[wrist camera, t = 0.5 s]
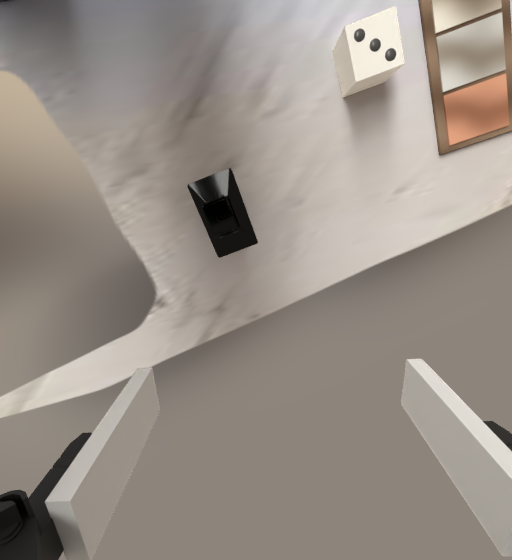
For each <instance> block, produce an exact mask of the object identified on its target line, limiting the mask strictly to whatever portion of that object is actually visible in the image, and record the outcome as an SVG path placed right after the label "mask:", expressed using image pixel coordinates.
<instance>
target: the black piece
mask: <svg viewBox="0 0 512 560" xmlns="http://www.w3.org/2000/svg"><path fill="white" fill-rule="evenodd" d="M188 189H189V191H190V193H191V195H192V198H193V200H194V202H195V205H196V207H197V209H198V212H199V214H200V216H201V219H202V221H203V223H204V225H205V228H206V230H207V232H208V235H209V237H210V239H211V242H212V244H213V246H214V249H215V251H216V253H217V255H218V257H219V258H220V257H223V256H225V255H228V254H231V253H233V252H236V251H239V250H241V249H244V248H247V247H249V246H252V245H254V244H257V243H258V241H257V239H256V236H255V233H254V230H253V228H252V225H251V222H250V219H249V217H248V214H247V211H246V208H245V206H244V203H243V200H242V197H241V195H240V192H239V189H238V186H237V184H236V181H235V178H234V175H233V173H232V170H231V168H228V169H226V170H223V171H221V172H218V173H216V174H213V175H211V176H208V177H206V178H203V179H201V180H198V181H196V182H193V183H191V184H188Z"/></svg>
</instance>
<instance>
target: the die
mask: <svg viewBox="0 0 512 560" xmlns="http://www.w3.org/2000/svg"><path fill="white" fill-rule="evenodd" d="M333 55H334V60H335V64H336V69H337V74H338V78H339V83H340V88H341V92H342V97H343V98H344V97H346V96H349V95H352V94H354V93H357V92H360V91H362V90H365V89H368V88H370V87H373V86H376V85H378V84H381V83H384V82H385V81H386V80H387V79H388V78H389V77H391V76H392V75H393V74H394V73H395V72H396V71H397V70H398V69H399V68H400V67H401V66H403V65H404V64H405V63H404V56H403V50H402V43H401V37H400V30H399V24H398V17H397V11H396V6H394V7H391V8H389V9H386V10H384V11H381V12H379V13H376V14H374V15H371V16H369V17H366V18H364V19H361V20H359V21H356V22H354V23H351V24H349V25H346V26H345V27H344V29H343V31H342V33H341V35H340V37H339V39H338V41H337V43H336V45H335V47H334V49H333Z"/></svg>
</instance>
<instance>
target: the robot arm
mask: <svg viewBox="0 0 512 560" xmlns="http://www.w3.org/2000/svg"><path fill="white" fill-rule="evenodd" d="M0 1H7V0H0ZM401 405H402V406H403V408H404V409H405V411H406V412H407V414H408V415H409V416H410V418H411V420H412V421H413V423H414V424H415V426H416V427H417V429H418V430H419V432H420V433H421V435H422V436H423V438H424V439H425V441H426V442H427V444H428V445H429V447H430V448H431V450H432V451H433V453H434V454H435V456H436V457H437V459H438V460H439V462H440V463H441V465H442V466H443V468H444V469H445V471H446V472H447V474H448V475H449V477H450V478H451V480H452V481H453V483H454V484H455V486H456V487H457V489H458V490H459V492H460V493H461V495H462V496H463V498H464V499H465V501H466V502H467V504H468V505H469V507H470V508H471V510H472V511H473V513H474V514H475V516H476V517H477V519H478V520H479V522H480V523H481V525H482V526H483V528H484V529H485V531H486V532H487V534H488V535H489V537H490V538H491V540H492V541H493V543H494V544H495V546H496V547H497V549H498V551H499V552H500V554H501V555H502V556H512V434H511V433H509V431H507V430H505V429H504V428H502V427H501V426H499V425H498V424H496V423H494V422H493V421H482V420H481V419H480V418H479V417H478V416H477V415H476V414H475V413H474V412H473V411H472V410H471V409H470V408H469V407H468V406H467V405H466V404H465V403H464V402H463V401H462V400H461V399H460V398H459V397H458V396H457V395H456V394H455V393H454V391H452V389H450V387H449V386H448V385H447V384H446V383H445V382H444V381H443V380H442V379H441V378H440V377H439V376H438V375H437V374H436V373H435V372H434V371H433V370H432V369H431V368H430V367H429V366H428V365H427V364H426V363H425V362H424V361H423V360H422V359H407V360H406V367H405V375H404V383H403V391H402V399H401ZM159 412H160V407H159V402H158V397H157V391H156V386H155V380H154V375H153V369H152V368H138V369H137V370H136V372H135V373H134V375H133V376H132V377H131V379H130V380H129V382H128V383H127V385H126V386H125V387H124V389H123V390H122V392H121V393H120V395H119V396H118V397H117V399H116V400H115V402H114V403H113V405H112V406H111V408H110V409H109V410H108V412H107V413H106V415H105V416H104V417H103V419H102V420H101V422H100V423H99V425H98V426H97V427H96V429H95V430H94V432H93V433H82V434H81V435H80V436H79V437H78V438H76V439H75V440H74V441H73V442H71V443H70V444H69V446H68V447H67V448H66V450H65V451H64V452H63V453H62V455H61V457H60V458H59V459H58V460H57V461H56V463H55V464H54V465H53V468H52V469H50V471H49V472H48V473H47V475H46V476H45V477H44V479H43V480H42V481H41V482H40V484H39V485H38V486H37V488H36V489H35V490H34V492H33V493H32V494H31V496H30V497H29V498H28V497H27V494H26V492H24V491H22V490H14V491H10V492H7V493H4V494H2V495H0V560H58V559H59V557H60V555H61V553H62V552H63V551H64V554H65V556H66V559H67V560H92V558H93V555H94V554H95V551H96V549H97V547H98V545H99V542H100V540H101V538H102V536H103V534H104V532H105V530H106V527H107V525H108V523H109V521H110V518H111V517H112V514H113V512H114V510H115V508H116V506H117V504H118V501H119V499H120V497H121V495H122V493H123V490H124V488H125V486H126V484H127V482H128V480H129V477H130V475H131V473H132V471H133V469H134V467H135V464H136V462H137V460H138V458H139V456H140V453H141V451H142V449H143V447H144V445H145V443H146V440H147V438H148V436H149V434H150V432H151V430H152V427H153V425H154V423H155V421H156V419H157V417H158V414H159Z"/></svg>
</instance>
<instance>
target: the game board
mask: <svg viewBox="0 0 512 560" xmlns="http://www.w3.org/2000/svg"><path fill="white" fill-rule="evenodd" d="M419 7H420V14H421V22H422V29H423V37H424V44H425V52H426V59H427V67H428V74H429V82H430V89H431V97H432V104H433V112H434V119H435V127H436V134H437V142H438V149H439V155H441V154H444V153H447V152H450V151H453V150H456V149H459V148H462V147H464V146H467V145H470V144H473V143H476V142H479V141H482V140H485V139H488V138H491V137H494V136H497V135H500V134H503V133H506V132H509V131H512V33H511V16H510V0H419Z"/></svg>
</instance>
